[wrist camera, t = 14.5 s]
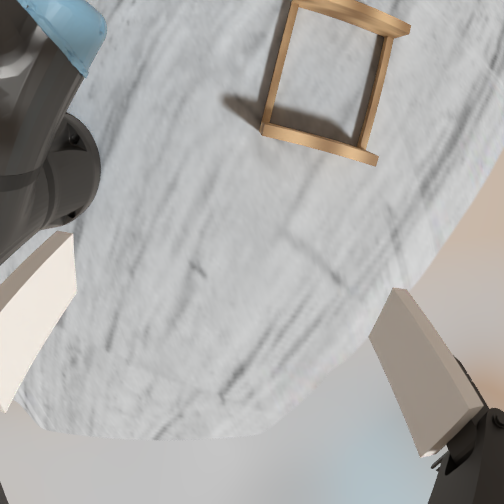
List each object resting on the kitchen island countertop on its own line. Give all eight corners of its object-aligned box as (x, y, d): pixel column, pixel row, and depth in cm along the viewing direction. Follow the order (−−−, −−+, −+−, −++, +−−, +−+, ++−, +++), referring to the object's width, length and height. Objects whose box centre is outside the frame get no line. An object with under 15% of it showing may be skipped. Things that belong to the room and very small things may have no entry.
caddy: (259, 131, 34) (262, 135, 30) (292, -4, 27) (300, -18, 22) (359, 158, 36) (375, 166, 32) (391, 31, 29) (410, 25, 24)
